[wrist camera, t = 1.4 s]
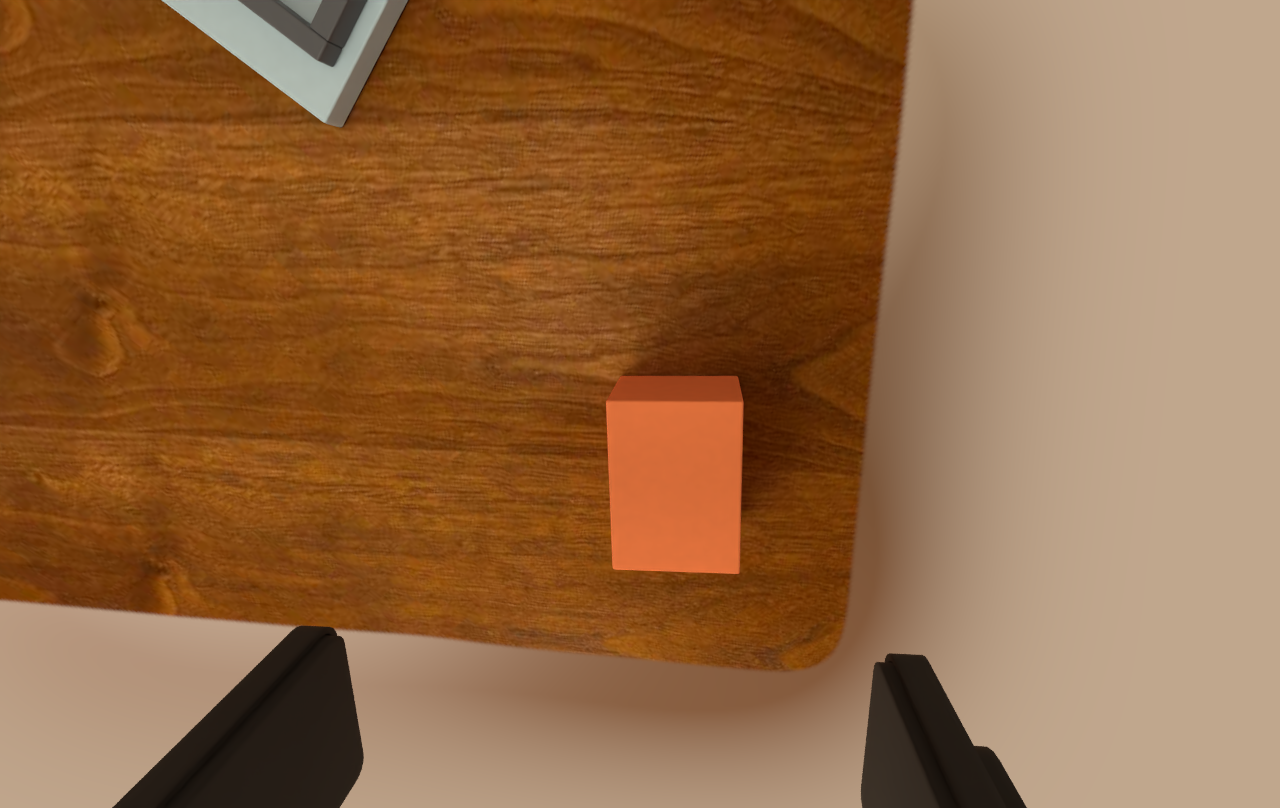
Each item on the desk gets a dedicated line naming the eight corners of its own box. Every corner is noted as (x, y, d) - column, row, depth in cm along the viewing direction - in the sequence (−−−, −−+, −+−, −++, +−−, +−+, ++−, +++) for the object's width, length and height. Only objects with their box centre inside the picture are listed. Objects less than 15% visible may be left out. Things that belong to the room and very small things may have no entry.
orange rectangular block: (624, 523, 28) (612, 570, 24) (620, 375, 26) (605, 400, 22) (735, 526, 28) (739, 574, 24) (738, 375, 26) (743, 401, 22)
